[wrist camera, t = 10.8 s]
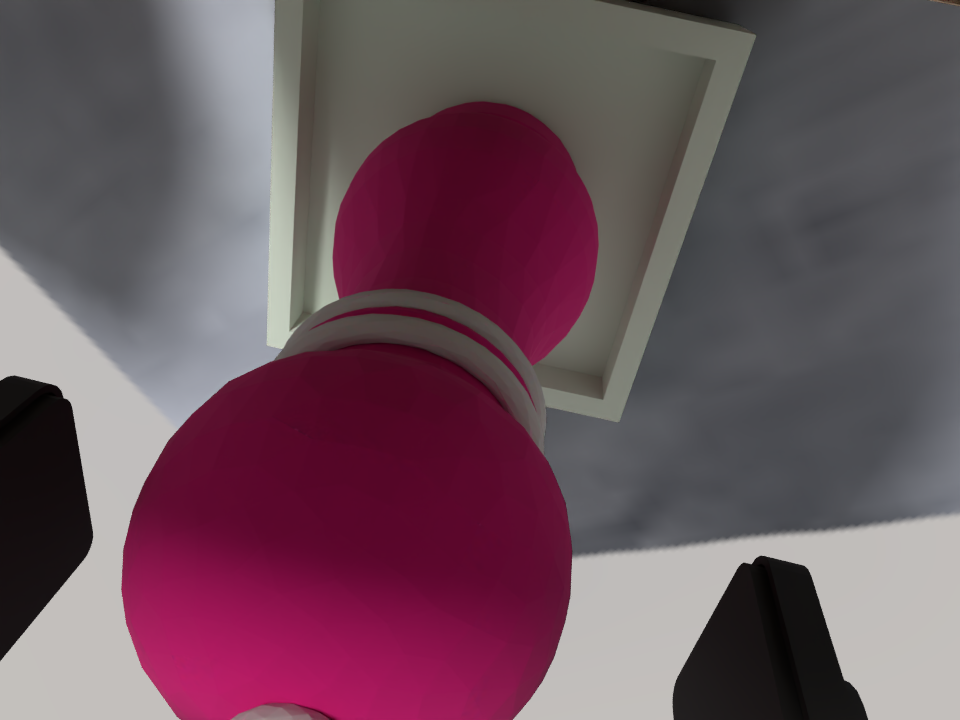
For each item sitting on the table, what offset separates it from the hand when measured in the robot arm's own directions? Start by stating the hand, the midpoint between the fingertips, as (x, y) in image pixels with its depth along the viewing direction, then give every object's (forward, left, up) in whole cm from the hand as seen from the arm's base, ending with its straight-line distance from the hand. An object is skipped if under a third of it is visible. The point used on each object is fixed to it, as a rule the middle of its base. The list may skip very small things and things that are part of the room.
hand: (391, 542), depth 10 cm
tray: (+1, +4, -17) cm, 17 cm away
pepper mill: (0, 0, -16) cm, 16 cm away
